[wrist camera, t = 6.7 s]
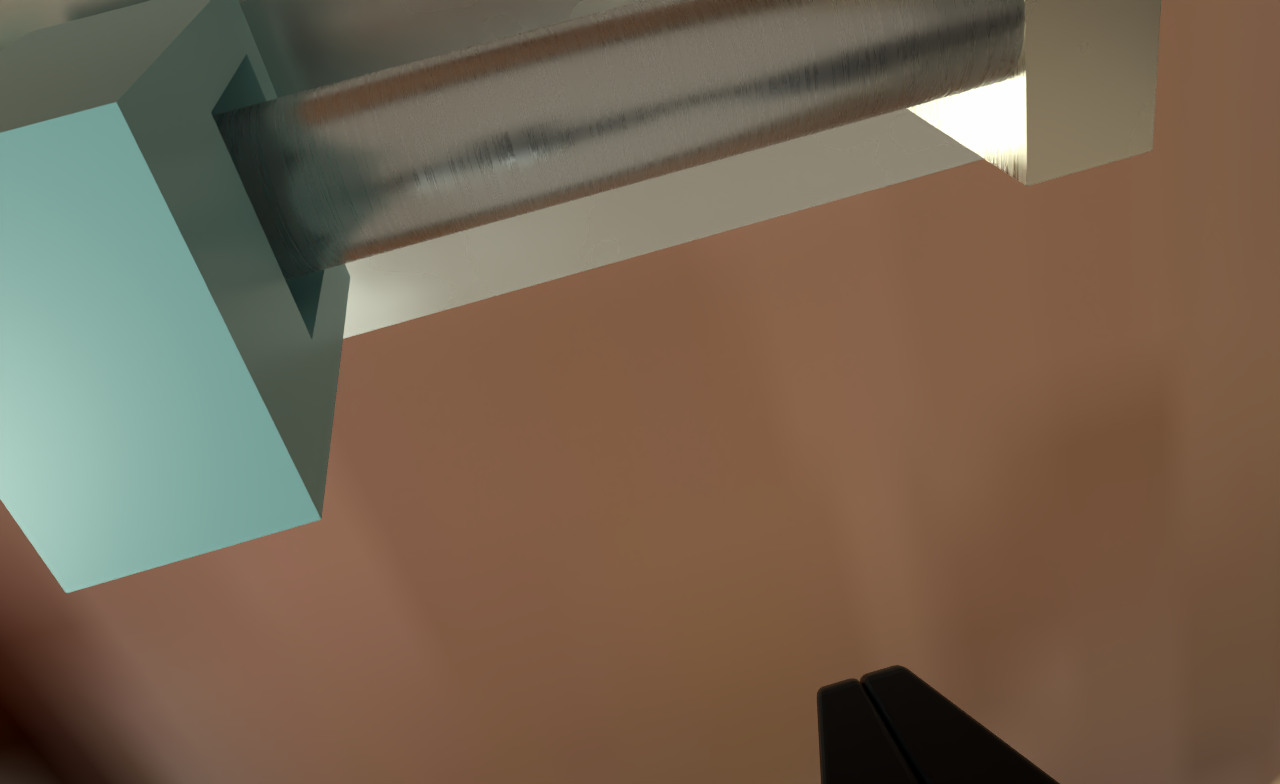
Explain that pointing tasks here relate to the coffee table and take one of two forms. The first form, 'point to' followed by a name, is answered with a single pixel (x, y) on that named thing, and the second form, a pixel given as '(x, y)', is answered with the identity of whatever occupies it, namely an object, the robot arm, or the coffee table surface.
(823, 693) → the robot arm
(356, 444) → the coffee table surface
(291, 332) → the collar
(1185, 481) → the coffee table surface
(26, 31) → the pipe rig
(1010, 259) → the coffee table surface
